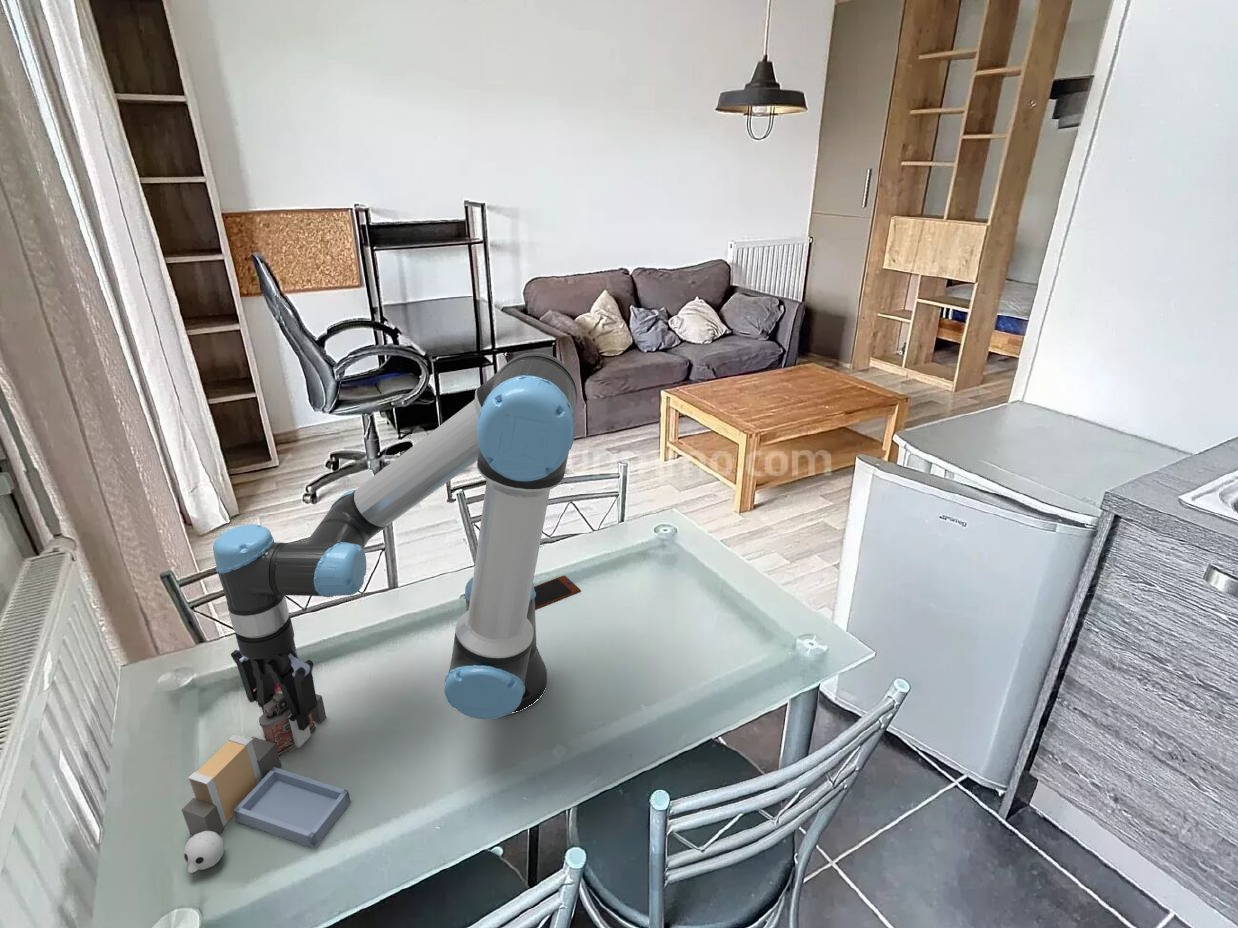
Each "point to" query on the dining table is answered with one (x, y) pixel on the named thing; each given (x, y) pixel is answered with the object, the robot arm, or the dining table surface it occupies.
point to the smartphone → (554, 591)
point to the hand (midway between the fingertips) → (291, 737)
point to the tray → (293, 807)
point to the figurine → (203, 850)
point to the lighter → (279, 724)
